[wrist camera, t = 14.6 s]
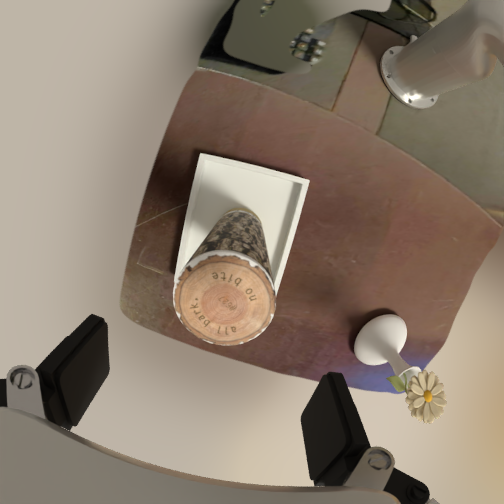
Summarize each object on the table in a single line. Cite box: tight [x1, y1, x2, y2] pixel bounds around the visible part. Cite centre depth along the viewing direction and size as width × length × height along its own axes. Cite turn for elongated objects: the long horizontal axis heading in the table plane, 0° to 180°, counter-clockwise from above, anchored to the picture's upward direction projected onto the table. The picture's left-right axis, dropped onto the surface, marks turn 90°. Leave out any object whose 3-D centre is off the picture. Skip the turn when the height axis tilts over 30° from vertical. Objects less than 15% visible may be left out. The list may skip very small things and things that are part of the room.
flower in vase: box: [354, 314, 447, 424], centre depth 36 cm, size 13×11×25 cm
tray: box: [174, 153, 310, 295], centre depth 41 cm, size 20×16×2 cm
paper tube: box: [173, 208, 276, 345], centre depth 30 cm, size 7×7×25 cm
